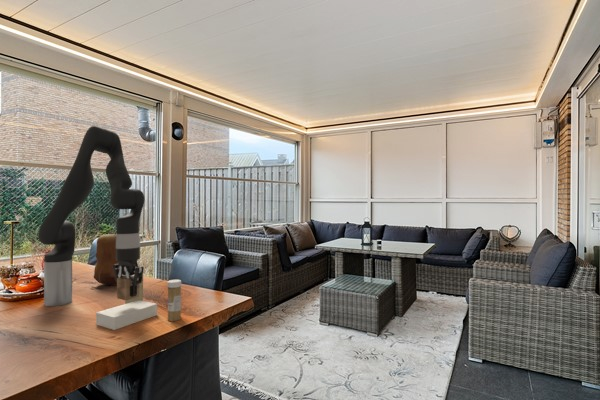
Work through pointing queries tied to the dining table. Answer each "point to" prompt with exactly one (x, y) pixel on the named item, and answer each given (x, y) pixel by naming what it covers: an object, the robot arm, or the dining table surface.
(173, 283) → the sprinkles bottle
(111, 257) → the butternut squash
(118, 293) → the walnut block
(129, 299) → the skincare box
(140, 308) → the white block
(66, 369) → the dining table surface
